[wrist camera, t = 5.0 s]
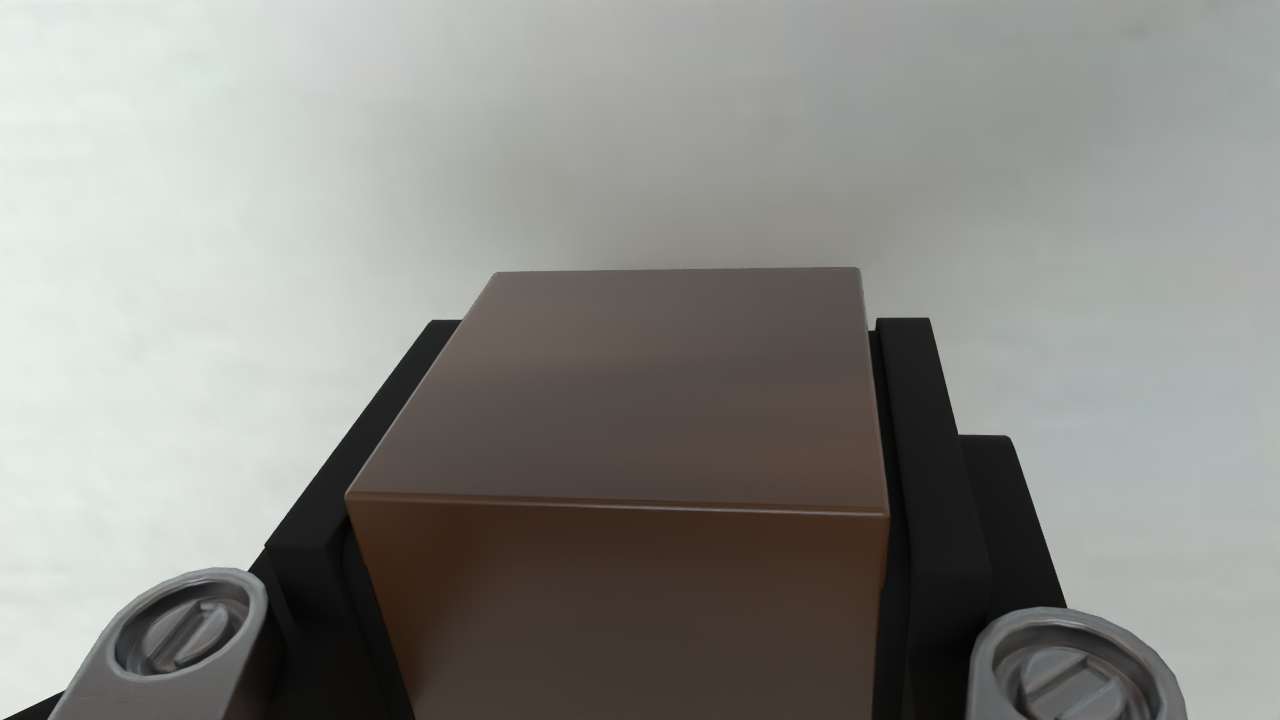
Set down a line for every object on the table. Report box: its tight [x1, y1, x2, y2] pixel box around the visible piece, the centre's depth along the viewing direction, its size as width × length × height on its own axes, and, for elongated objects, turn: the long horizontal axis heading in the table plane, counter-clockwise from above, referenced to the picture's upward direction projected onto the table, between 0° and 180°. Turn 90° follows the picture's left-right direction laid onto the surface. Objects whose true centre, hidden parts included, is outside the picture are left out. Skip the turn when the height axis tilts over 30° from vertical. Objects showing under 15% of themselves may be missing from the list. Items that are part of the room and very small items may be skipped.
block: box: [344, 267, 891, 720], centre depth 9 cm, size 4×4×4 cm
